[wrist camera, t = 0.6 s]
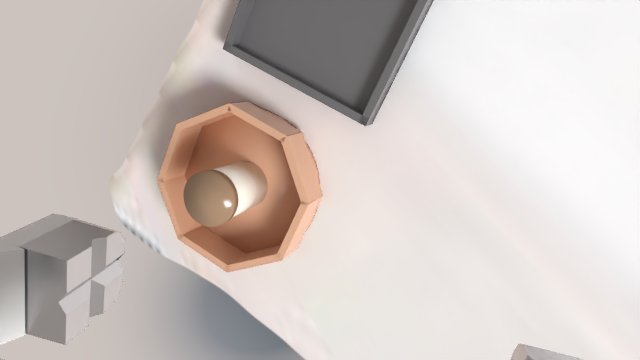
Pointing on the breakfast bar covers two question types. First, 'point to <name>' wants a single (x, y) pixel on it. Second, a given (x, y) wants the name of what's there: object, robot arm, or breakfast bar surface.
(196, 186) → the spice jar
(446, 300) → the breakfast bar surface
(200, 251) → the bowl
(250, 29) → the tray
